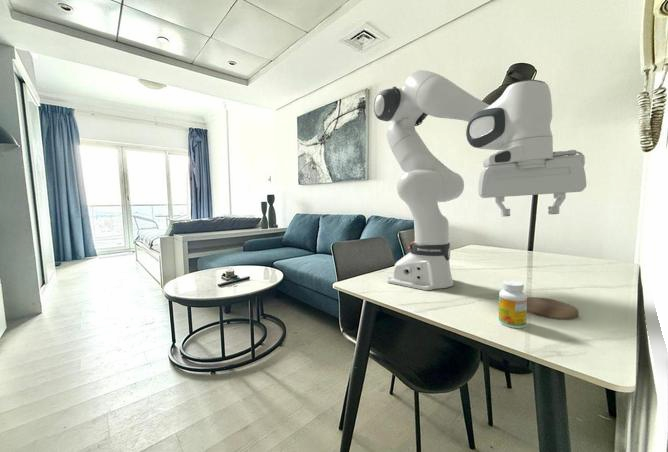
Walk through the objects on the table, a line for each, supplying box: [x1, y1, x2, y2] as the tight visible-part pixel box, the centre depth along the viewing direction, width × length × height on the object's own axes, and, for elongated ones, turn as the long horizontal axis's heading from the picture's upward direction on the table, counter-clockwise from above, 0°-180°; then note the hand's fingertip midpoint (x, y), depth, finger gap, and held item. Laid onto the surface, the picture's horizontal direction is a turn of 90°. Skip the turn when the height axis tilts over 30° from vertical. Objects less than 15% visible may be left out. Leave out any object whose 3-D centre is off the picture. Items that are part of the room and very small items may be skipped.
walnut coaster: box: [527, 296, 580, 320], centre depth 70 cm, size 12×12×1 cm
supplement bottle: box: [498, 279, 528, 329], centre depth 63 cm, size 5×5×10 cm
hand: (529, 215), depth 62 cm, fingers open, 8 cm apart
